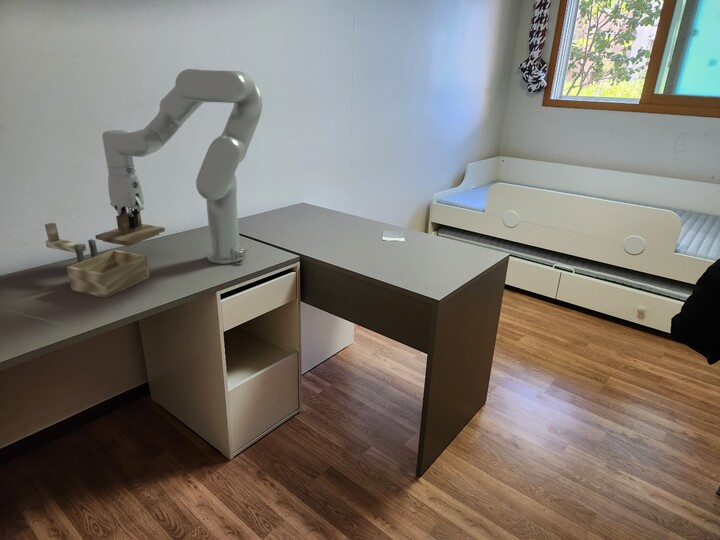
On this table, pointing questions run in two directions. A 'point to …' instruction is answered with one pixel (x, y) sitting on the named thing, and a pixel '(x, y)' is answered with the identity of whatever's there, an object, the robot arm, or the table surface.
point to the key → (59, 240)
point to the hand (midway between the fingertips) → (130, 226)
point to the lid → (129, 232)
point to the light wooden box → (106, 271)
